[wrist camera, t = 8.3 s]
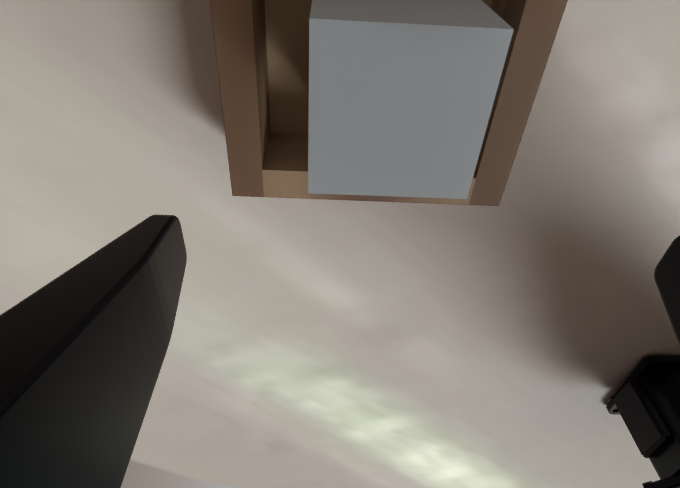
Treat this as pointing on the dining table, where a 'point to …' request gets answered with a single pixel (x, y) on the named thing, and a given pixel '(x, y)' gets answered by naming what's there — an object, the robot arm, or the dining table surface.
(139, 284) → the robot arm
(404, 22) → the grey rectangular box
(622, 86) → the dining table surface
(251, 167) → the wooden tray
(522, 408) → the dining table surface
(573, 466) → the dining table surface
